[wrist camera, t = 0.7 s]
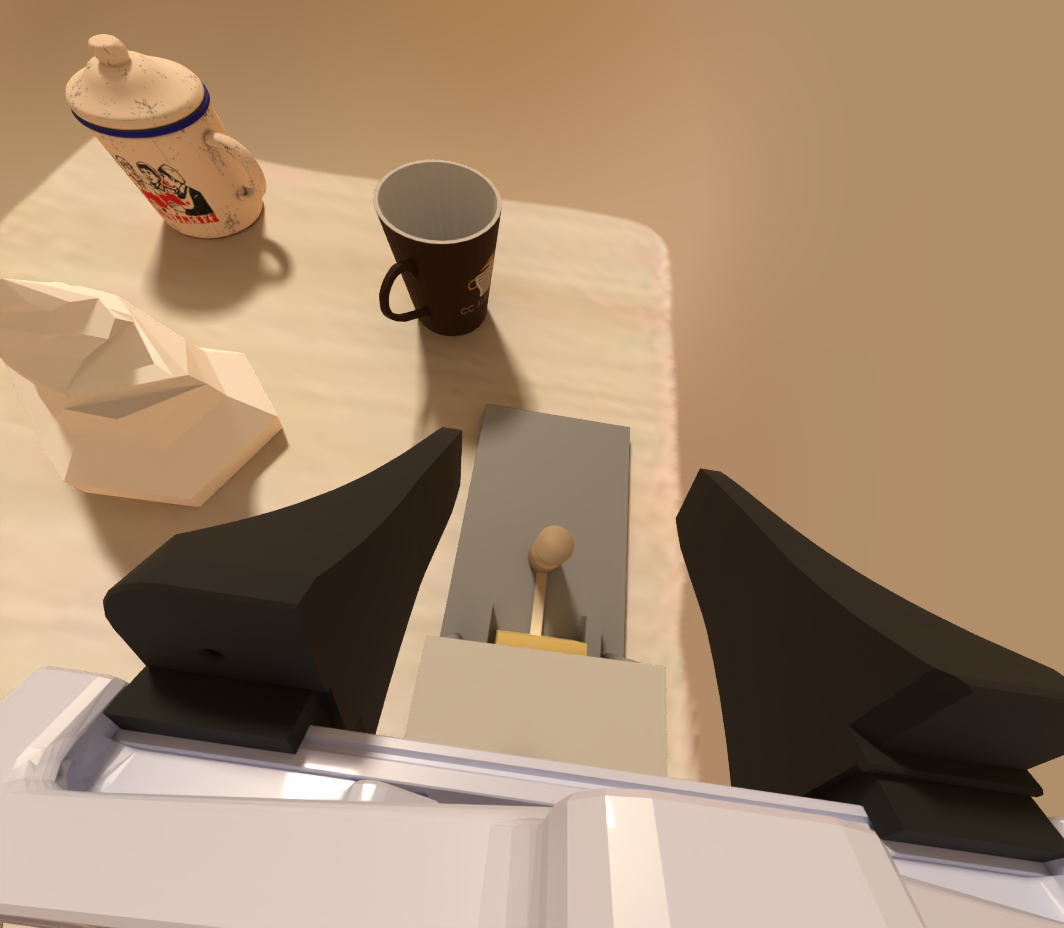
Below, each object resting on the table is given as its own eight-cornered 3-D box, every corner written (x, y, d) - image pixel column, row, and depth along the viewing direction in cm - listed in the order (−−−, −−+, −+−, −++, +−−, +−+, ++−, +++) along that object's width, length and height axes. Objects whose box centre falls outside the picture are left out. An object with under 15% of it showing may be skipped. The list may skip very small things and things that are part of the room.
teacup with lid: (140, 225, 35) (-16, 51, 24) (199, 168, 38) (86, -6, 28) (264, 262, 35) (163, 104, 24) (312, 202, 38) (243, 40, 27)
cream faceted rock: (242, 335, 33) (171, 164, 21) (304, 480, 31) (263, 375, 19) (37, 364, 27) (-224, 144, 15) (91, 550, 24) (-179, 459, 12)
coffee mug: (463, 262, 37) (454, 146, 28) (516, 319, 35) (526, 214, 26) (356, 312, 34) (306, 197, 24) (408, 378, 32) (376, 281, 23)
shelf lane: (615, 780, 23) (667, 850, 16) (417, 758, 22) (386, 820, 15) (625, 432, 32) (662, 384, 25) (486, 410, 31) (485, 354, 25)
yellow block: (564, 750, 22) (584, 786, 18) (480, 740, 22) (477, 775, 17) (579, 546, 27) (598, 531, 22) (510, 536, 27) (515, 519, 22)
